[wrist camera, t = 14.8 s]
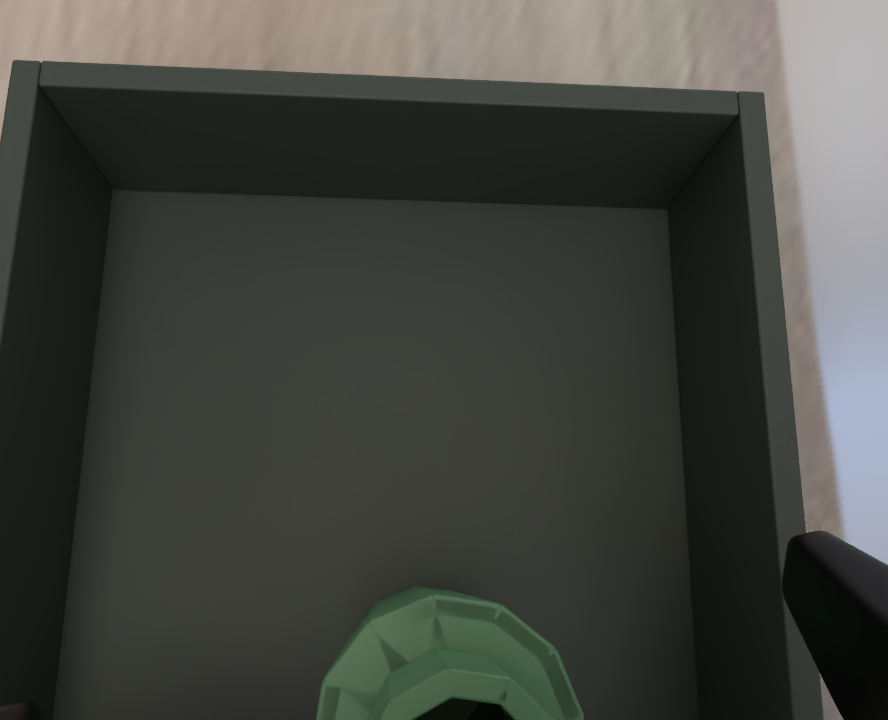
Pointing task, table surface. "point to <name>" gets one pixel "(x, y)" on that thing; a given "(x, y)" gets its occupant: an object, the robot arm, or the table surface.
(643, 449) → the bin
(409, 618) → the bottle
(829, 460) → the table surface
